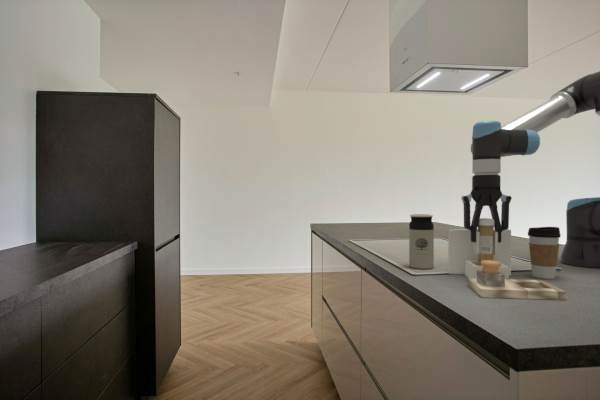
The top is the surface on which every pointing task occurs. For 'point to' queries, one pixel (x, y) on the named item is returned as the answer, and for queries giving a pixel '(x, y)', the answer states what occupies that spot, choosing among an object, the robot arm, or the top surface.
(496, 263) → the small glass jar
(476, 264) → the tall white box
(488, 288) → the socket block
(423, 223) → the travel mug
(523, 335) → the top surface
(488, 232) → the sprinkles bottle
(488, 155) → the robot arm
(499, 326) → the top surface
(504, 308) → the top surface
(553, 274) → the coffee cup
